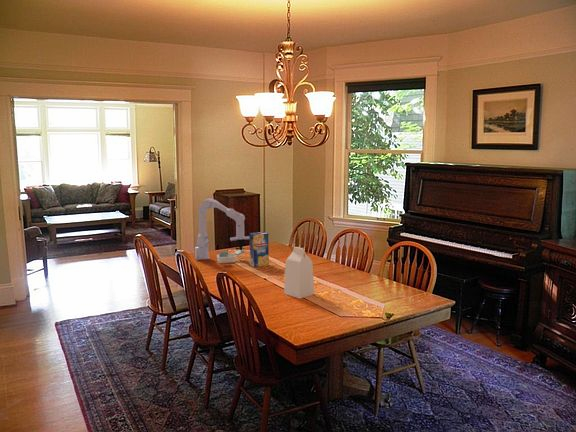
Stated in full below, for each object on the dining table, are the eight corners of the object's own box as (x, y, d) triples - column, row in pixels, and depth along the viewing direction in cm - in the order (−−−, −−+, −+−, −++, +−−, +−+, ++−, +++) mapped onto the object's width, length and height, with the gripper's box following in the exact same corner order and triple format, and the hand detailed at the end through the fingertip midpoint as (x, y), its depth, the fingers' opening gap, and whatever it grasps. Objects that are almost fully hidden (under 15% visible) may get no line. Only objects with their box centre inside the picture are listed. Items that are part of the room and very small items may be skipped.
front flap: (220, 251, 327) (220, 253, 326) (228, 251, 328) (228, 252, 328) (219, 255, 331) (219, 257, 331) (227, 255, 333) (227, 256, 332)
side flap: (244, 251, 337) (244, 252, 337) (241, 248, 344) (242, 250, 345) (236, 254, 335) (236, 255, 335) (234, 251, 343) (234, 253, 343)
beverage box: (268, 265, 326) (268, 233, 323) (254, 267, 321) (253, 235, 318) (264, 262, 332) (263, 231, 329) (250, 264, 327) (249, 233, 324)
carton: (219, 263, 332) (218, 257, 332) (217, 260, 341) (216, 254, 340) (236, 261, 336) (236, 256, 335) (233, 259, 344) (233, 253, 344)
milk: (284, 293, 264) (283, 247, 260) (298, 289, 272) (298, 244, 268) (299, 298, 256) (299, 251, 252) (314, 293, 264) (314, 247, 260)
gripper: (231, 232, 332) (231, 251, 334) (251, 231, 336) (252, 250, 338) (229, 231, 339) (229, 249, 341) (249, 229, 343) (249, 248, 345)
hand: (240, 249), depth 340 cm, fingers closed
